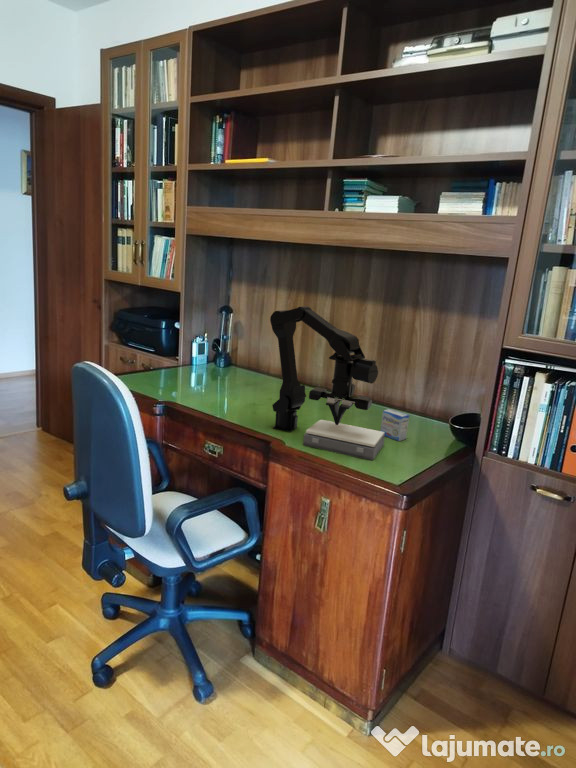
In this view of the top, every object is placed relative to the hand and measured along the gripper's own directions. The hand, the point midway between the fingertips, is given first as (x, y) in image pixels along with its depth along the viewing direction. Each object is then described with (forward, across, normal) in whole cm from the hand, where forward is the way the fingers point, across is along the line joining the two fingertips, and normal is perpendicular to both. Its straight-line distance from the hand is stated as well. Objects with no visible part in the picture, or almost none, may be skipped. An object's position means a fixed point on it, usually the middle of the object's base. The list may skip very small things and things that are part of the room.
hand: (337, 424), depth 164 cm
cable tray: (+7, -3, -1) cm, 7 cm away
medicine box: (+7, -15, -19) cm, 25 cm away
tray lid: (+3, -3, -2) cm, 4 cm away
